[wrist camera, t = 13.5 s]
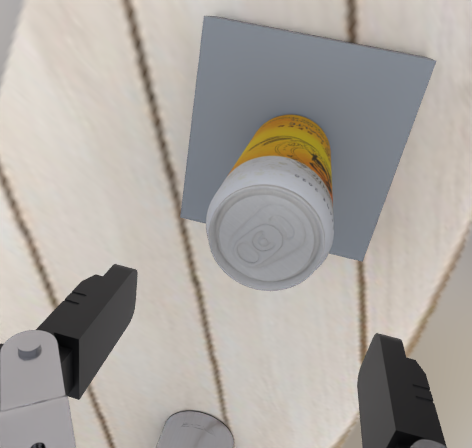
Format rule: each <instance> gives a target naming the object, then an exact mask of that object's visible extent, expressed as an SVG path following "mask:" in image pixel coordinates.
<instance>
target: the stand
mask: <svg viewBox="0 0 472 448" xmlns="http://www.w3.org/2000/svg"><path fill="white" fill-rule="evenodd" d="M435 63H436V61H435V60H433V59H430V58H427V57H422V56H417V55H412V54H407V53H402V52H397V51H391V50H386V49H381V48H376V47H371V46H366V45H360V44H355V43H350V42H345V41H340V40H334V39H329V38H324V37H319V36H314V35H309V34H303V33H298V32H293V31H288V30H283V29H278V28H272V27H267V26H262V25H257V24H252V23H247V22H241V21H236V20H231V19H226V18H221V17H216V16H204V21H203V30H202V38H201V47H200V55H199V64H198V72H197V81H196V89H195V98H194V106H193V115H192V123H191V132H190V140H189V149H188V157H187V166H186V174H185V183H184V191H183V200H182V208H181V218H185V219H189V220H193V221H198V222H202V223H206V217H207V212H208V208H209V205H210V203H211V201H212V199H213V197H214V195H215V194H216V192H217V191H218V189H219V188H220V186H221V185H222V183H223V182H224V180H225V179H226V177H227V176H228V174H229V173H230V171H231V170H232V168H233V167H234V165H235V164H236V162H237V161H238V159H239V158H240V156H241V155H242V153H243V152H244V150H245V149H246V147H247V146H248V144H249V142H250V141H251V139H252V138H253V136H254V135H255V133H256V132H257V131H258V129H259V128H260V127H261V126H262V125H263V124H264V123H266V122H267V121H269V120H271V119H272V118H275V117H278V116H281V115H299V116H302V117H305V118H308V119H310V120H311V121H313V122H315V123H316V124H317V125H318V126H319V127H320V128H321V129H322V130H323V132H324V133H325V135H326V136H327V139H328V141H329V144H330V150H331V171H332V196H333V220H334V236H333V242H332V246H331V249H330V251H329V253H330V254H334V255H338V256H342V257H346V258H350V259H354V260H358V261H363V259H364V256H365V253H366V251H367V248H368V245H369V243H370V240H371V237H372V234H373V232H374V229H375V226H376V224H377V221H378V218H379V215H380V213H381V210H382V207H383V205H384V202H385V199H386V196H387V194H388V191H389V188H390V185H391V183H392V180H393V177H394V175H395V172H396V169H397V166H398V164H399V161H400V158H401V156H402V153H403V150H404V147H405V145H406V142H407V139H408V137H409V134H410V131H411V128H412V126H413V123H414V120H415V118H416V115H417V112H418V109H419V107H420V104H421V101H422V99H423V96H424V93H425V90H426V88H427V85H428V82H429V80H430V77H431V74H432V71H433V69H434V66H435Z"/></svg>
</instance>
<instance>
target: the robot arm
mask: <svg viewBox="0 0 472 448" xmlns="http://www.w3.org/2000/svg"><path fill="white" fill-rule="evenodd" d="M136 288H137V270H136V269H132V268H128V267H124V266H121V265H117V264H114V265H113V266H112V267H111V268H110V269H109V270H108V271H107V273H106V274H105V275H104V276H99V275H94V276H92V277H90V278H88V279H86V280H84V281H82V282H81V283H80V284H79V285H78V286H77V287H76V288H75V289H74V290H73V291H72V293H70V294H69V295H68V296H67V297H66V298H65V301H63V302H62V303H61V304H60V305H59V306H58V307H57V308H56V309H55V310H54V311H53V312H52V313H51V314H50V315H49V316H48V317H47V319H46V320H45V321H44V322H43V323H42V324H41V325H40V326H39V327H38V328H37V329H36V330H30V331H24V332H21V333H18V334H16V335H14V336H12V337H11V338H10V339H8V340H7V341H6V342H5V343H4V344H0V448H76V445H75V439H74V432H73V426H72V420H71V413H70V407H69V401H68V396H69V397H72V398H75V399H80V398H81V396H82V395H83V393H84V392H85V390H86V389H87V387H88V386H89V384H90V383H91V381H92V380H93V378H94V377H95V375H96V374H97V372H98V370H99V369H100V367H101V366H102V364H103V363H104V361H105V360H106V358H107V357H108V355H109V354H110V352H111V351H112V349H113V348H114V346H115V345H116V343H117V342H118V340H119V338H120V337H121V335H122V334H123V332H124V331H125V329H126V328H127V326H128V325H129V323H130V321H131V319H132V316H133V313H134V309H135V301H136ZM357 388H358V400H359V411H360V422H361V433H362V445H363V448H447V447H446V444H445V440H444V436H443V433H442V430H441V426H440V422H439V419H438V415H437V412H436V408H435V405H434V403H433V398H432V395H431V392H430V391H429V390H430V387H429V384H428V381H427V377H426V374H425V373H424V371H423V370H422V369H421V367H420V366H419V364H418V363H417V362H416V360H413V359H410V358H406V355H405V351H404V347H403V343H402V340H401V339H398V338H394V337H390V336H386V335H382V334H378V333H376V334H375V335H374V337H373V339H372V342H371V344H370V346H369V349H368V351H367V353H366V356H365V358H364V360H363V363H362V365H361V368H360V371H359V375H358V383H357ZM233 447H234V440H233V437H232V434H231V433H230V431H229V429H228V428H227V427H226V426H225V425H224V424H223V423H221V422H220V421H219V420H217V419H215V418H213V417H212V416H209V415H206V414H204V413H199V412H192V411H186V412H180V413H177V414H174V415H173V416H171V417H170V418H169V419H168V420H167V422H166V424H165V426H164V428H163V431H162V433H161V436H160V438H159V441H158V443H157V446H156V448H233Z"/></svg>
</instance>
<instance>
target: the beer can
mask: <svg viewBox="0 0 472 448" xmlns="http://www.w3.org/2000/svg"><path fill="white" fill-rule="evenodd" d="M206 230H207V236H208V240H209V245H210V249H211V252H212V254H213V257H214V259H215V260H216V262H217V264H218V265H219V266H220V268H221V269H222V270H223V271H224V272H225V273H226V274H227V275H228V276H230V277H231V278H232V279H234V280H235V281H237V282H239V283H240V284H243V285H245V286H247V287H250V288H253V289H257V290H264V291H277V290H283V289H287V288H291V287H293V286H296V285H298V284H300V283H301V282H303V281H304V280H306V279H307V278H308V277H309V276H310V275H311V274H312V273H313V272H314V271H315V270H316V269H317V268H318V267H319V266H320V265H321V264H322V263H323V261H324V260H325V259H326V257H327V255H328V253H329V251H330V249H331V246H332V242H333V236H334V220H333V196H332V171H331V150H330V144H329V141H328V139H327V136H326V135H325V133H324V132H323V130H322V129H321V128H320V127H319V126H318V125H317V124H316V123H315V122H313V121H311V120H310V119H308V118H305V117H302V116H299V115H281V116H278V117H275V118H272V119H271V120H269V121H267V122H266V123H264V124H263V125H262V126H261V127H260V128H259V129H258V131H257V132H256V133H255V135H254V136H253V138H252V139H251V141H250V142H249V144H248V146H247V147H246V149H245V150H244V152H243V153H242V155H241V156H240V158H239V159H238V161H237V162H236V164H235V165H234V167H233V168H232V170H231V171H230V173H229V174H228V176H227V177H226V179H225V180H224V182H223V183H222V185H221V186H220V188H219V189H218V191H217V192H216V194H215V195H214V197H213V199H212V201H211V203H210V205H209V208H208V212H207V217H206Z"/></svg>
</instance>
